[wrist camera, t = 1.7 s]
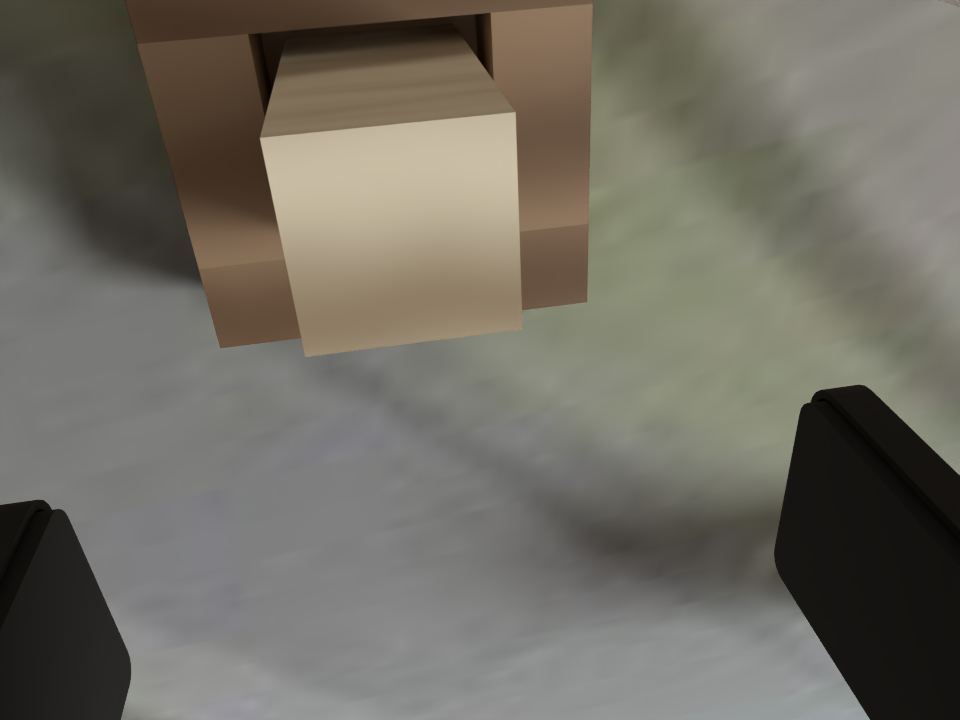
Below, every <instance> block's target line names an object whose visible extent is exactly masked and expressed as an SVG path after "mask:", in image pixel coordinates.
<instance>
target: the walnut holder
mask: <svg viewBox="0 0 960 720" xmlns="http://www.w3.org/2000/svg"><path fill="white" fill-rule="evenodd" d="M125 2H126V6H127V10H128V13H129V17H130V21H131V24H132V28H133V32H134V35H135V39H136V42H137V46H138V50H139V53H140V57H141V61H142V64H143V68H144V72H145V75H146V79H147V83H148V86H149V90H150V93H151V97H152V101H153V104H154V108H155V112H156V115H157V119H158V123H159V126H160V130H161V134H162V137H163V141H164V144H165V148H166V152H167V155H168V159H169V163H170V166H171V170H172V174H173V177H174V181H175V185H176V188H177V192H178V195H179V199H180V203H181V206H182V210H183V214H184V217H185V221H186V225H187V228H188V232H189V236H190V239H191V243H192V246H193V250H194V254H195V257H196V261H197V265H198V268H199V272H200V276H201V279H202V283H203V287H204V290H205V294H206V297H207V301H208V305H209V308H210V312H211V316H212V319H213V323H214V327H215V330H216V334H217V338H218V341H219V345H220V348H226V347H234V346H242V345H250V344H257V343H265V342H273V341H281V340H289V339H297V338H301V334H300V329H299V324H298V319H297V314H296V310H295V305H294V300H293V295H292V290H291V285H290V281H289V276H288V271H287V266H286V261H285V257H284V252H283V247H282V242H281V237H280V233H279V228H278V223H277V218H276V213H275V209H274V204H273V199H272V194H271V189H270V184H269V180H268V175H267V170H266V165H265V160H264V156H263V151H262V146H261V141H260V135H261V132H262V128H263V124H264V120H265V116H266V112H267V109H268V105H269V101H270V97H271V93H272V90H273V86H274V82H275V78H276V74H277V71H278V67H279V63H280V59H281V55H282V52H283V48H284V44H285V40H286V38H294V37H305V36H316V35H327V34H339V33H350V32H361V31H372V30H383V29H395V28H406V27H417V26H428V25H439V24H451V23H453V24H454V26H455V27H456V28H457V30H458V31H459V33H460V34H461V36H462V37H463V38H464V40H465V41H466V43H467V44H468V45H469V47H470V48H471V50H472V51H473V53H474V54H475V55H476V57H477V58H478V60H479V61H480V62H481V64H482V65H483V67H484V68H485V69H486V71H487V72H488V74H489V75H490V77H491V78H492V79H493V81H494V82H495V84H496V85H497V86H498V88H499V89H500V91H501V92H502V94H503V95H504V96H505V98H506V99H507V101H508V102H509V103H510V105H511V106H512V108H513V109H514V111H515V112H516V139H517V171H518V202H519V233H520V265H521V296H522V310H527V309H535V308H543V307H551V306H559V305H567V304H575V303H583V302H587V276H588V222H589V168H590V114H591V60H592V6H593V0H125Z"/></svg>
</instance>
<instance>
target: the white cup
mask: <svg viewBox="0 0 960 720" xmlns="http://www.w3.org/2000/svg"><path fill="white" fill-rule="evenodd" d="M940 1H943V2H946V3H949V4H952V5H956V6H959V7H960V0H940Z"/></svg>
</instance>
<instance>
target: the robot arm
mask: <svg viewBox="0 0 960 720" xmlns="http://www.w3.org/2000/svg"><path fill="white" fill-rule="evenodd" d="M774 557H775V563H776V567H777V570H778V573H779V575H780V577H781V579H782V581H783V582H784V584H785V585H786V587H787V588H788V590H789V592H790V593H791V595H792V596H793V598H794V600H795V601H796V603H797V604H798V606H799V608H800V609H801V611H802V612H803V614H804V615H805V617H806V619H807V620H808V622H809V623H810V625H811V627H812V628H813V630H814V631H815V633H816V635H817V636H818V638H819V639H820V641H821V642H822V644H823V646H824V647H825V649H826V650H827V652H828V654H829V655H830V657H831V658H832V660H833V661H834V663H835V665H836V666H837V668H838V669H839V671H840V673H841V674H842V676H843V677H844V679H845V681H846V682H847V684H848V685H849V687H850V688H851V690H852V692H853V693H854V695H855V696H856V698H857V700H858V701H859V703H860V704H861V706H862V708H863V709H864V711H865V712H866V714H867V715H868V717H869V719H870V720H960V475H958V474H957V473H956V472H955V471H954V470H953V469H952V468H951V467H950V466H949V465H948V464H947V463H946V462H945V461H944V460H943V459H942V458H941V457H940V456H939V455H938V454H937V453H936V452H935V451H934V450H933V449H932V448H931V447H929V446H928V445H927V444H926V443H925V442H924V441H923V440H922V439H921V438H920V437H919V436H918V435H917V434H916V433H915V432H914V431H913V430H912V429H911V428H910V427H909V426H908V425H907V424H906V423H905V422H904V421H903V420H902V419H900V418H899V417H898V416H897V415H896V414H895V413H894V412H893V411H892V410H891V409H890V408H889V407H888V406H887V405H886V404H885V403H884V402H883V401H882V400H881V399H880V398H879V397H878V396H877V395H876V394H875V393H874V392H873V391H871V390H870V389H869V388H867V387H866V386H863V385H854V386H846V387H839V388H832V389H825V390H820V391H818V392H816V393H815V394H814V396H813V397H812V400H811V403H807V404H804V405H803V407H802V408H801V411H800V415H799V420H798V426H797V431H796V436H795V442H794V447H793V452H792V458H791V463H790V469H789V474H788V479H787V485H786V490H785V495H784V501H783V506H782V511H781V517H780V522H779V528H778V533H777V538H776V544H775V550H774ZM130 680H131V663H130V657H129V654H128V651H127V649H126V646H125V644H124V642H123V640H122V637H121V635H120V633H119V631H118V628H117V626H116V624H115V622H114V619H113V617H112V615H111V613H110V610H109V608H108V606H107V604H106V601H105V599H104V597H103V595H102V592H101V590H100V588H99V586H98V583H97V581H96V579H95V577H94V574H93V572H92V570H91V568H90V565H89V563H88V561H87V559H86V556H85V554H84V552H83V550H82V547H81V545H80V543H79V541H78V538H77V536H76V534H75V532H74V529H73V527H72V525H71V523H70V520H69V518H68V516H67V515H66V513H65V512H64V511H63V510H61V509H56V510H52V509H51V507H50V506H49V504H48V503H46V502H45V501H44V500H33V501H26V502H19V503H12V504H4V505H0V720H121V716H122V712H123V709H124V705H125V701H126V697H127V693H128V689H129V685H130Z"/></svg>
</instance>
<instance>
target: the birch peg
mask: <svg viewBox="0 0 960 720" xmlns="http://www.w3.org/2000/svg"><path fill="white" fill-rule="evenodd" d="M260 141H261V146H262V151H263V156H264V160H265V165H266V170H267V175H268V180H269V184H270V189H271V194H272V199H273V204H274V209H275V213H276V218H277V223H278V228H279V233H280V237H281V242H282V247H283V252H284V257H285V261H286V266H287V271H288V276H289V281H290V285H291V290H292V295H293V300H294V305H295V310H296V314H297V319H298V324H299V329H300V334H301V338H302V343H303V348H304V353H305V357H309V356H317V355H325V354H332V353H340V352H348V351H356V350H364V349H371V348H379V347H387V346H395V345H403V344H410V343H418V342H426V341H434V340H441V339H449V338H457V337H465V336H473V335H480V334H488V333H496V332H504V331H512V330H519V329H523V327H522V296H521V265H520V233H519V202H518V171H517V139H516V112H515V111H514V109H513V108H512V106H511V105H510V103H509V102H508V101H507V99H506V98H505V96H504V95H503V94H502V92H501V91H500V89H499V88H498V86H497V85H496V84H495V82H494V81H493V79H492V78H491V77H490V75H489V74H488V72H487V71H486V69H485V68H484V67H483V65H482V64H481V62H480V61H479V60H478V58H477V57H476V55H475V54H474V53H473V51H472V50H471V48H470V47H469V45H468V44H467V43H466V41H465V40H464V38H463V37H462V36H461V34H460V33H459V31H458V30H457V28H456V27H455V26H454V24H453V23H451V24H439V25H428V26H417V27H406V28H395V29H383V30H372V31H361V32H350V33H339V34H327V35H316V36H305V37H294V38H286V40H285V44H284V48H283V52H282V55H281V59H280V63H279V67H278V71H277V74H276V78H275V82H274V86H273V90H272V93H271V97H270V101H269V105H268V109H267V112H266V116H265V120H264V124H263V128H262V132H261V135H260Z"/></svg>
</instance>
